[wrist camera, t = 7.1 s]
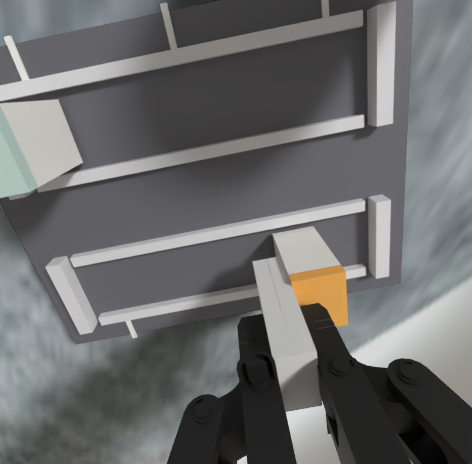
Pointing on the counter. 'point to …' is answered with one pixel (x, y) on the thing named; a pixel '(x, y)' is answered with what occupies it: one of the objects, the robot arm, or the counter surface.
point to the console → (214, 154)
